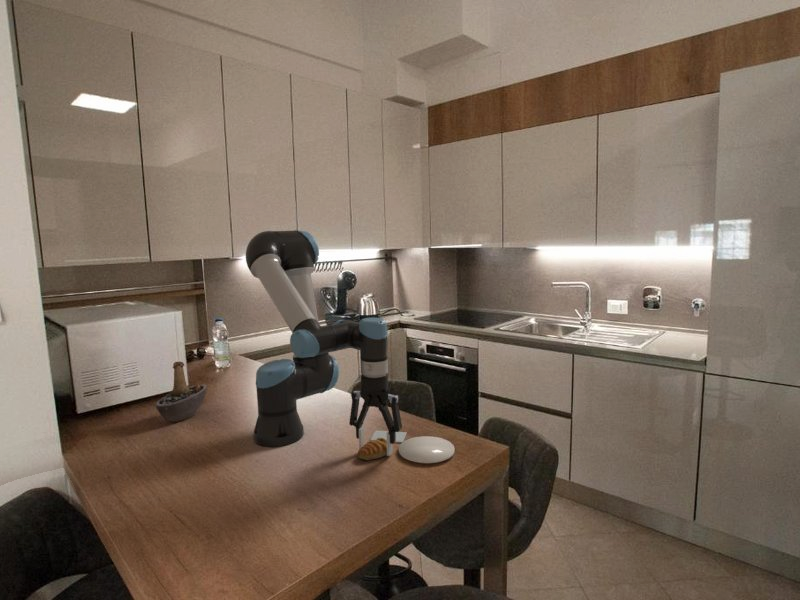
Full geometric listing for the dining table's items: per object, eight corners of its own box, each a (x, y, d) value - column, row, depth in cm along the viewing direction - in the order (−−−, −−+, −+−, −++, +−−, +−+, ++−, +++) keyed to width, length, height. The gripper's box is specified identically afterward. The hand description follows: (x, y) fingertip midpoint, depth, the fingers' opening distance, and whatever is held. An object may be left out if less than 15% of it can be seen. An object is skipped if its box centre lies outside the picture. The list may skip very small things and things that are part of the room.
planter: (208, 406, 176) (204, 354, 173) (205, 423, 160) (200, 365, 158) (164, 412, 171) (159, 358, 169) (156, 430, 156) (151, 370, 153)
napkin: (370, 441, 144) (370, 439, 144) (375, 431, 151) (375, 430, 151) (402, 443, 143) (402, 441, 142) (406, 433, 149) (406, 432, 149)
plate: (390, 460, 132) (390, 456, 132) (409, 437, 147) (409, 433, 146) (446, 469, 126) (446, 465, 126) (460, 444, 141) (460, 440, 141)
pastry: (367, 464, 129) (367, 451, 129) (352, 456, 134) (351, 443, 133) (392, 453, 136) (392, 440, 135) (377, 446, 141) (376, 433, 140)
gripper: (334, 374, 132) (337, 451, 135) (404, 381, 125) (405, 463, 128) (346, 366, 139) (349, 440, 142) (413, 373, 132) (414, 450, 135)
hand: (376, 451), depth 135 cm, fingers closed on pastry, 8 cm apart
